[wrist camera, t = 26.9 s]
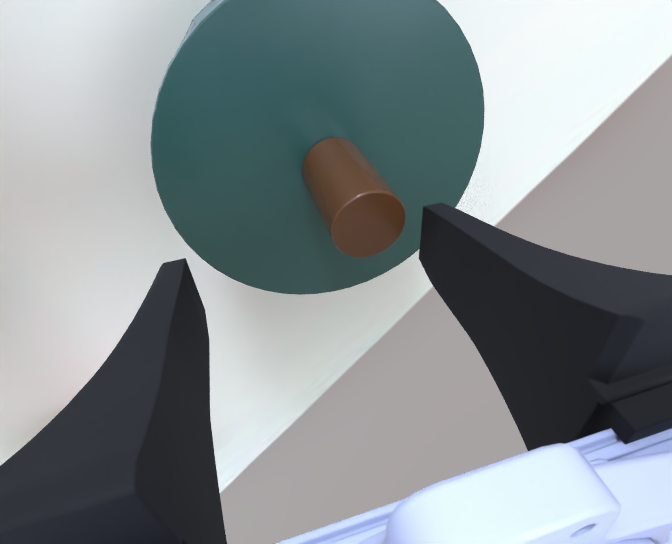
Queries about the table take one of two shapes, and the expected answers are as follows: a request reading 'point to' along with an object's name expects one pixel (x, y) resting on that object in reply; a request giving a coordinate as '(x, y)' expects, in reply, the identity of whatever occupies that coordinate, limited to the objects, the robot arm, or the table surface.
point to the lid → (315, 136)
